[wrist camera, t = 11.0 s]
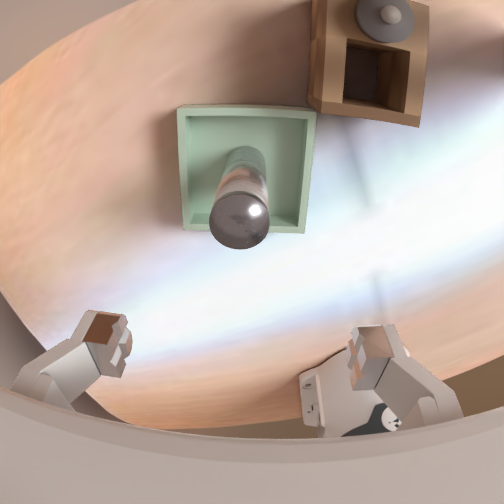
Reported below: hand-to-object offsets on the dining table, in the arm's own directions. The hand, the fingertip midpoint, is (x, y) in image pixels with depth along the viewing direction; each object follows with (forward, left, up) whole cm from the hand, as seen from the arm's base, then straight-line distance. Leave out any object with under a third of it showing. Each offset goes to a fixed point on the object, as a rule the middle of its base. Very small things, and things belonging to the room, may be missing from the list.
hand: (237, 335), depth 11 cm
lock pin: (0, 0, -18) cm, 18 cm away
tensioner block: (+10, -8, -19) cm, 23 cm away
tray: (0, 0, -19) cm, 19 cm away
